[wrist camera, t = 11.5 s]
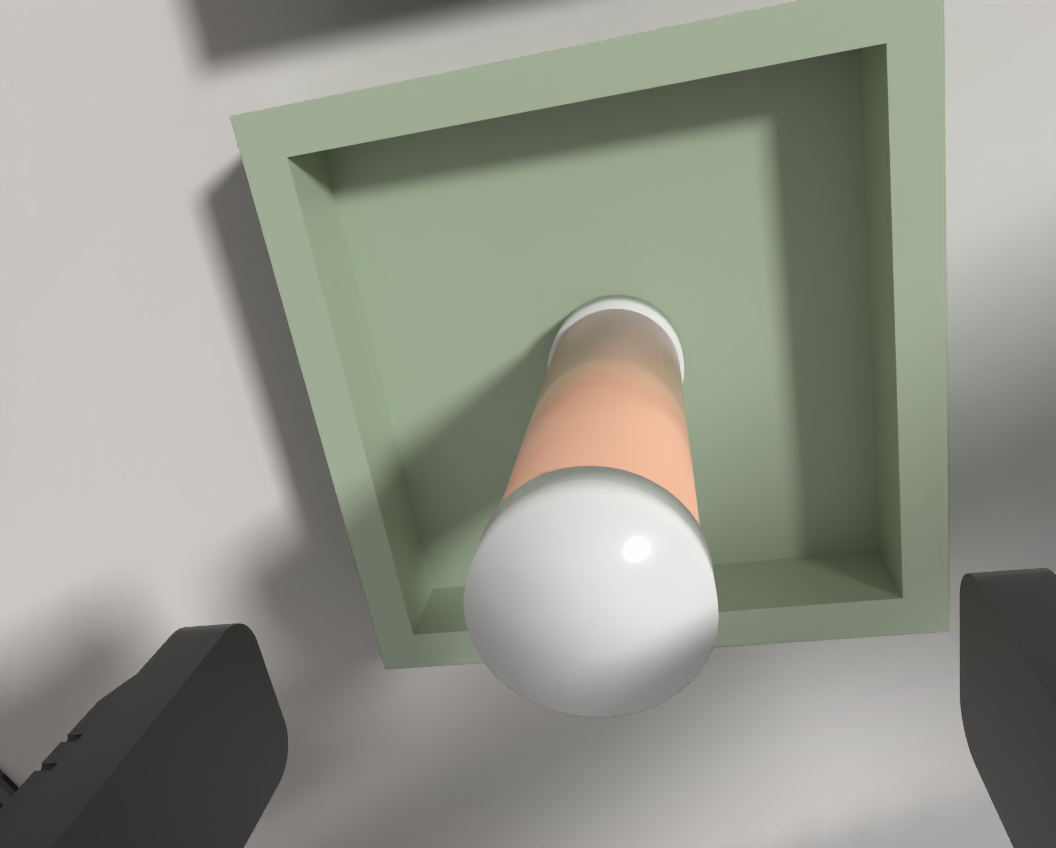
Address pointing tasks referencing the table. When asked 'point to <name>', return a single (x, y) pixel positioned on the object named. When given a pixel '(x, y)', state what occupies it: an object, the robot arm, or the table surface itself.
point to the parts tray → (651, 275)
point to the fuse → (599, 528)
